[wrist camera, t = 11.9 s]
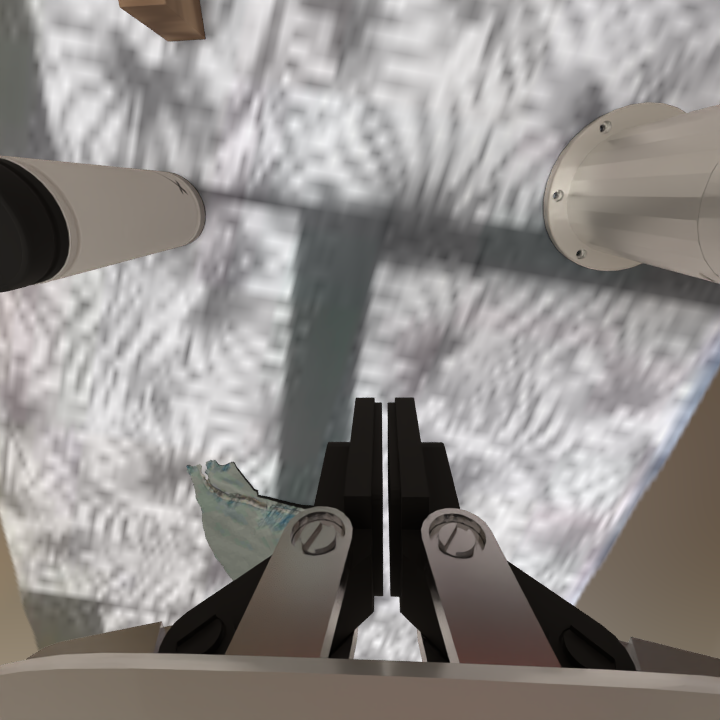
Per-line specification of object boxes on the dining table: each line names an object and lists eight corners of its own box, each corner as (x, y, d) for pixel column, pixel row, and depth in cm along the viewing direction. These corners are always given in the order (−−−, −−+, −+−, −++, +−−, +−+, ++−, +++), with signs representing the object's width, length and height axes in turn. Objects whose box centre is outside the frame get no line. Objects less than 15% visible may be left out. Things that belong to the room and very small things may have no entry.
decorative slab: (165, 575, 56) (157, 588, 54) (187, 445, 46) (179, 455, 44) (337, 621, 58) (336, 635, 56) (393, 505, 48) (394, 517, 46)
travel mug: (196, 164, 33) (-29, 130, 15) (212, 243, 36) (37, 296, 18) (127, 170, 34) (-174, 143, 15) (148, 247, 36) (-88, 303, 18)
